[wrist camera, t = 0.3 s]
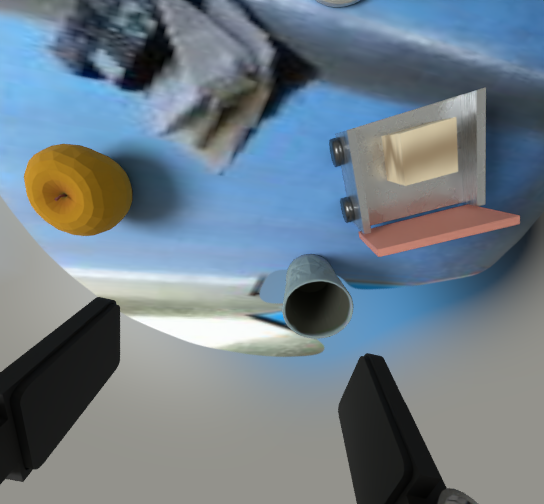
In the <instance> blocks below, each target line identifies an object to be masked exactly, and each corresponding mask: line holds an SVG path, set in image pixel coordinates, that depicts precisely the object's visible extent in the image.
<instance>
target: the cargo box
mask: <svg viewBox="0 0 544 504" xmlns="http://www.w3.org/2000/svg"><path fill="white" fill-rule="evenodd" d="M382 143H383V151H384V159H385V167H386V175H387V181H391V182H394V183H397V184H401V185H404V186H407V185H411V184H414V183H418V182H422V181H426V180H429V179H433V178H437V177H440V176H444V175H448V174H451V173H455V172H458V151H457V120H456V117H453V118H448V119H443V120H437V121H432V122H427V123H424V124H421V125H417V126H414V127H411V128H408V129H404V130H401V131H398V132H394V133H391V134H388V135H384V136H382Z"/></svg>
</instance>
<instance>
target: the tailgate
mask: <svg viewBox="0 0 544 504" xmlns="http://www.w3.org/2000/svg"><path fill="white" fill-rule="evenodd" d="M517 224H520V215H515V214H510V213H506V212H501V211H497V210H492V209H488V208H483V207H479V206H474V205H469V204H467V205H463V206H459V207H455V208H451V209H447V210H443V211H439V212H435V213H431V214H427V215H423V216H419V217H415V218H411V219H407V220H403V221H399V222H395V223H391V224H387V225H383V226H380V227H376V228H372V229H371V233H368V234H363V233H362V231H360V232H359V237H360V239H361V240H362V241H363V242H364V243H365V244H366V245H367V246H368V247H369V248H370V249H371V250H372V251H373V252H374V253H375V254H376V255H377V256H378V257H381V256H385V255H390V254H394V253H398V252H402V251H407V250H411V249H415V248H419V247H424V246H428V245H432V244H436V243H441V242H445V241H449V240H453V239H458V238H462V237H466V236H470V235H475V234H479V233H483V232H487V231H492V230H496V229H500V228H504V227H509V226H513V225H517Z"/></svg>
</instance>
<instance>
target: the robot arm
mask: <svg viewBox="0 0 544 504" xmlns="http://www.w3.org/2000/svg"><path fill="white" fill-rule="evenodd" d="M316 1H317V2H319V3H322V4H324V5H326V6H331V7H345V6H348V5H351V4H355V3H356V2H358V1H360V0H316ZM119 362H120V307H119V305H116V301H114V300H111V299H106V298H101V297H97V298H95V299H94V300H93V301H91V302H90V303H89V304H88V305H86V306H85V307H84V308H82V309H81V310H80V311H79V312H77V313H76V314H75V315H73V316H72V317H71V318H70V319H68V320H67V321H66V322H65V323H63V324H62V325H61V326H59V327H58V328H57V329H55V330H54V331H53V332H52V333H50V334H49V335H48V336H47V337H45V338H44V339H43V340H41V341H40V342H39V343H38V344H36V345H35V346H34V347H33V348H31V349H30V350H29V351H27V352H26V353H25V354H24V355H22V356H21V357H20V358H18V359H17V360H16V361H14V362H13V363H12V364H11V365H9V366H8V367H7V368H6V369H4V370H3V371H2V372H0V484H1V483H2V482H3V481H4V480H5V479H10V480H15V481H21V482H23V481H24V480H25V479H26V477H27V476H28V475H29V474H30V472H31V471H32V470H33V469H38V468H39V467H40V466H41V465H42V464H43V463H44V462H45V461H46V459H47V458H48V457H49V455H50V454H51V453H52V452H53V450H54V449H55V448H56V447H57V445H58V444H59V443H60V441H61V440H62V439H63V437H64V436H65V435H66V434H67V432H68V431H69V430H70V428H71V427H72V426H73V424H74V423H75V422H76V421H77V419H78V418H79V416H80V415H81V414H82V413H83V412H84V410H85V409H86V408H87V406H88V405H89V404H90V402H91V401H92V400H93V399H94V397H95V396H96V395H97V393H98V392H99V391H100V389H101V388H102V387H103V386H104V384H105V383H106V382H107V380H108V379H109V378H110V376H111V375H112V374H113V373H114V371H115V370H116V368H117V367H118V365H119ZM338 413H339V418H340V423H341V428H342V433H343V438H344V443H345V447H346V452H347V457H348V462H349V467H350V472H351V476H352V482H353V487H354V491H355V496H356V501H357V504H478V503H477V502H476V501H474V500H473V499H472V498H471V497H469V496H468V495H466V494H465V493H463V492H461V491H459V490H456V489H450V488H446V486H445V484H444V482H443V480H442V478H441V476H440V474H439V471H438V469H437V467H436V465H435V463H434V461H433V459H432V457H431V455H430V453H429V451H428V449H427V446H426V445H425V442H424V440H423V438H422V436H421V434H420V432H419V430H418V428H417V426H416V424H415V421H414V419H413V417H412V415H411V413H410V411H409V409H408V407H407V405H406V403H405V402H404V400H403V398H402V396H401V393H400V392H399V389H398V387H397V385H396V383H395V381H394V379H393V377H392V375H391V372H390V370H389V368H388V367H387V364H386V362H385V360H384V358H383V357H382V356H378V355H373V354H368V353H367V354H365V355H364V356H361V357H360V358H359V360H358V363H357V365H356V367H355V369H354V372H353V374H352V376H351V378H350V381H349V383H348V385H347V387H346V389H345V392H344V394H343V396H342V398H341V401H340V403H339V408H338Z"/></svg>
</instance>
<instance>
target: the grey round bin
mask: <svg viewBox="0 0 544 504" xmlns="http://www.w3.org/2000/svg"><path fill="white" fill-rule="evenodd" d="M282 312H283V317H284V320H285V322H286V324H287V325H288V326H289V328H290V329H291V330H293V331H294V332H295V333H297V334H299V335H301V336H304V337H307V338H313V339H316V338H324V337H330V336H332V335H335V334H337V333H338V332H340V331H341V330H342V329H344V327H346V325H347V324H348V323H349V321H350V319H351V317H352V313H353V301H352V298H351V296H350V294H349V292H348V291H347V289H346V288H345V287H344V285H343V284H342V282H341V281H340V279H339V278H338V277H337V276H336V274H335V272H334V270H333V269H332V267H331V266H330V264H329V263H328V261H326V260H325V259H324V258H322V257H321V256H318V255H314V254H306V255H302V256H300V257H298V258H296V259H294V260H293V262H292V263H291V264H290V266H289V267H288V270H287V275H286V287H285V294H284V301H283V308H282Z"/></svg>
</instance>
